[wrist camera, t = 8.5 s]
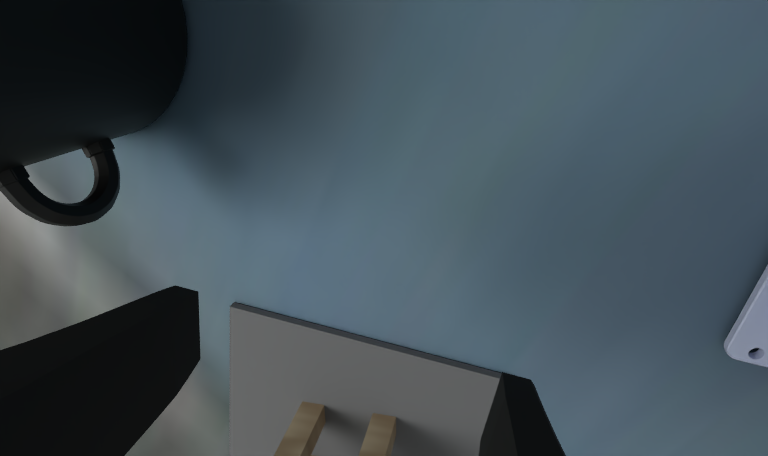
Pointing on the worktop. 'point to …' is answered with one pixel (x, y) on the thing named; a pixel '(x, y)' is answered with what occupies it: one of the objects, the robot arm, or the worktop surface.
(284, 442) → the stool
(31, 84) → the mug
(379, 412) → the mat
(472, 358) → the worktop surface
